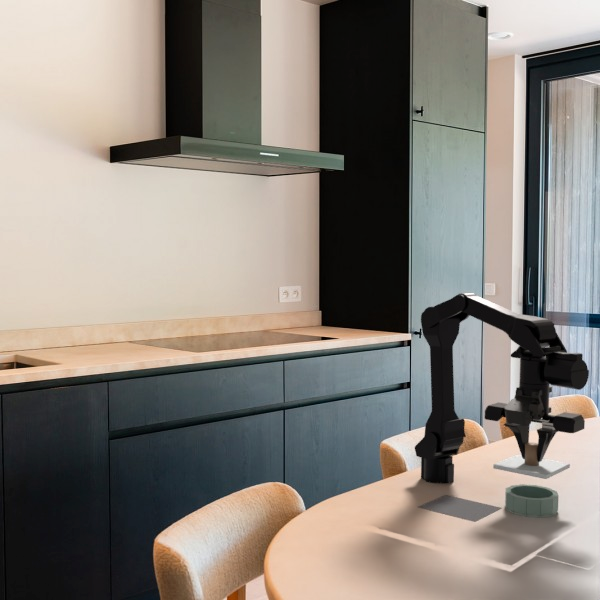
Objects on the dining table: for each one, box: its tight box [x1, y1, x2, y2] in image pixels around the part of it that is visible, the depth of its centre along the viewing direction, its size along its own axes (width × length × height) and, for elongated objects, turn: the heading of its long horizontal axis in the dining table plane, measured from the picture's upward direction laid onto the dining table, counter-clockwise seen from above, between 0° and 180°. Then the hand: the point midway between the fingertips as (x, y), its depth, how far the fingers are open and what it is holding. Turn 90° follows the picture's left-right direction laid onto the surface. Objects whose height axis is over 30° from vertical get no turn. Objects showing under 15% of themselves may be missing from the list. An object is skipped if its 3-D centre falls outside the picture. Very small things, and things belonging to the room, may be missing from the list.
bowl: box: [504, 483, 559, 518], centre depth 164 cm, size 10×10×4 cm
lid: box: [492, 442, 571, 480], centre depth 163 cm, size 11×11×5 cm
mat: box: [417, 494, 503, 523], centre depth 165 cm, size 13×11×1 cm
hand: (532, 460), depth 164 cm, fingers closed on lid, 3 cm apart
